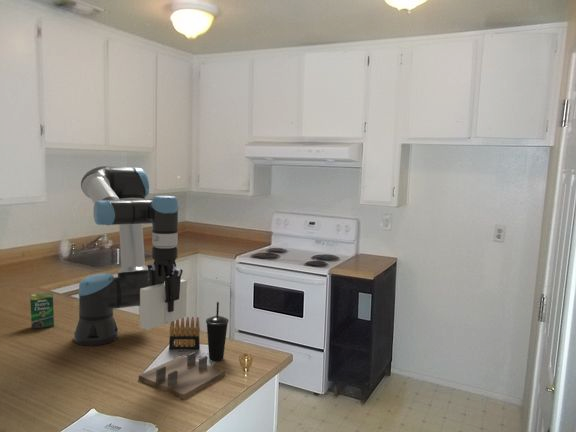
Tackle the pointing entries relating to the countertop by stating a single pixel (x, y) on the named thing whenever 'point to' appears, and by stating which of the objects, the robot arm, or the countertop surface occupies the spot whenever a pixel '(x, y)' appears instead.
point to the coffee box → (42, 310)
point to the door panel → (160, 305)
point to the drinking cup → (216, 336)
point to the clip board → (182, 375)
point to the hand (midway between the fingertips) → (164, 320)
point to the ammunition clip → (185, 335)
